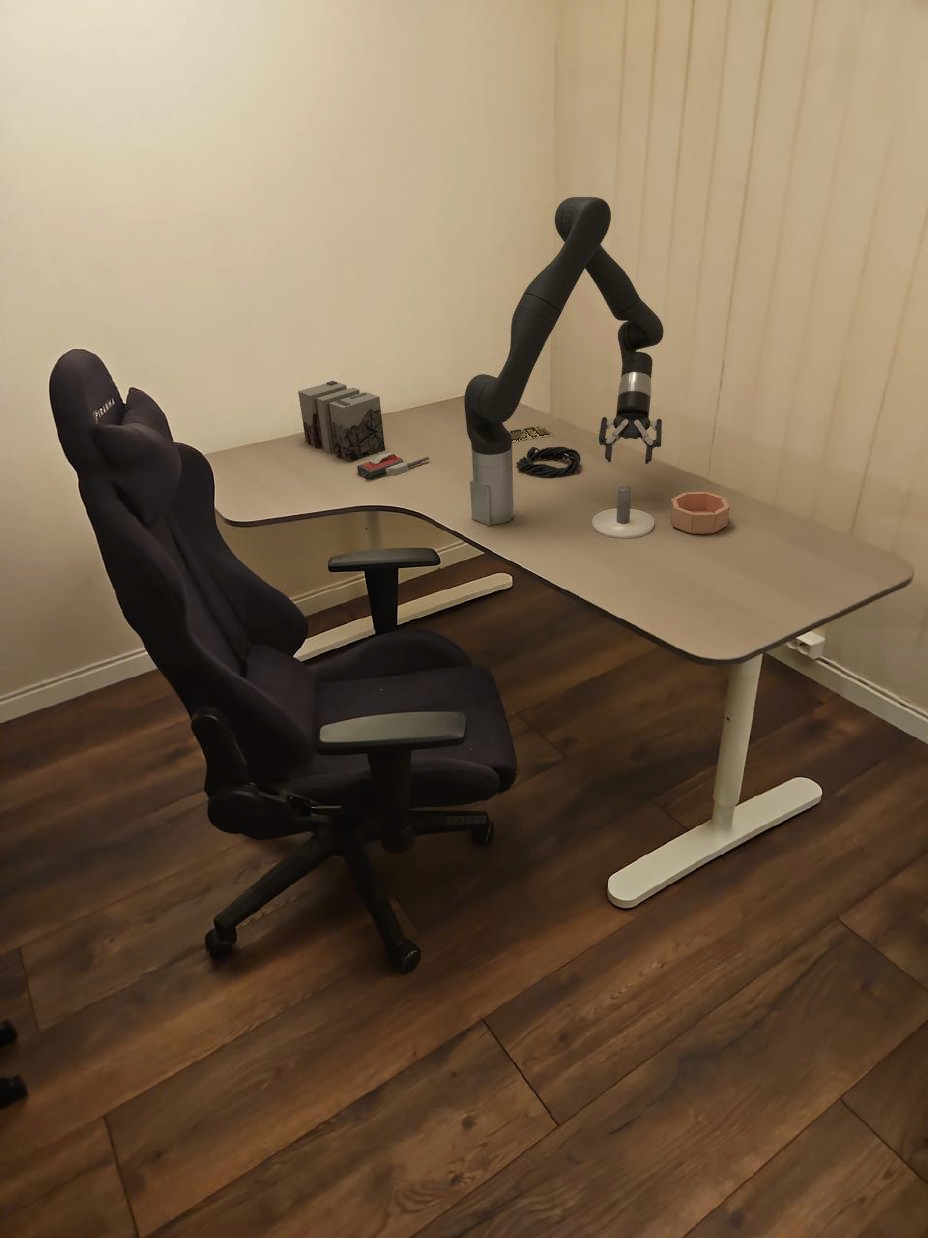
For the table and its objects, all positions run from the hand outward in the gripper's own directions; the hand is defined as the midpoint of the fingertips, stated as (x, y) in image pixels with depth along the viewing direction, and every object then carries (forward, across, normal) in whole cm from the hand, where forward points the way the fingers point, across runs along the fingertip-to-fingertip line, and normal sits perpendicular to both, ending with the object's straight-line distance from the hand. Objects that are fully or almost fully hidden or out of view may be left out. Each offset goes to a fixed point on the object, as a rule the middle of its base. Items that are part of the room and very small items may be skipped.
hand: (627, 461), depth 203 cm
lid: (+14, 0, +3) cm, 15 cm away
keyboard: (-23, -36, +41) cm, 59 cm away
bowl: (+12, +17, +5) cm, 21 cm away
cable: (-8, -22, +25) cm, 34 cm away
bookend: (-14, -83, +31) cm, 90 cm away
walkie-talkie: (-4, -64, +22) cm, 67 cm away
